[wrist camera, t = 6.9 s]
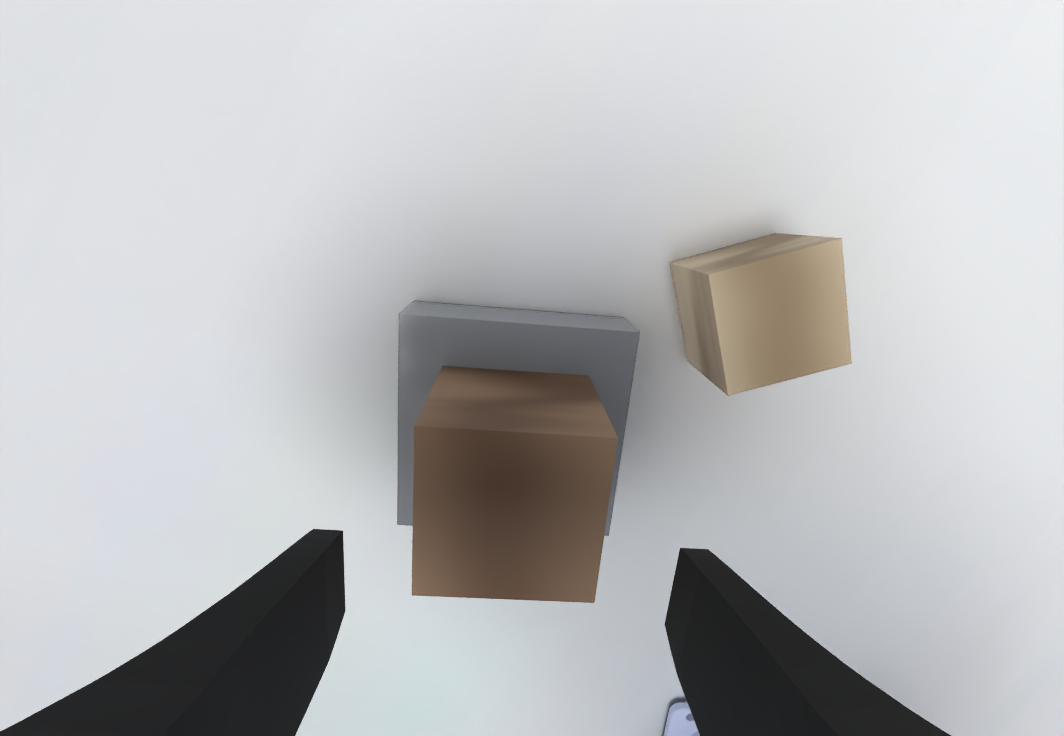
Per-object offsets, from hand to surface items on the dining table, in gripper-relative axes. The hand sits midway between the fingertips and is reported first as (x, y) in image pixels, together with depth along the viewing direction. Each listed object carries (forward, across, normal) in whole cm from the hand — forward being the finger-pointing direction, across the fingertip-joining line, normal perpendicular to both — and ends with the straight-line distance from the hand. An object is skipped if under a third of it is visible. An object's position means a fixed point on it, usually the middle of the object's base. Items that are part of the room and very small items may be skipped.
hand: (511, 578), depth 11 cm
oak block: (+10, -8, -5) cm, 14 cm away
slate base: (+10, 0, 0) cm, 10 cm away
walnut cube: (+7, 0, 0) cm, 7 cm away
